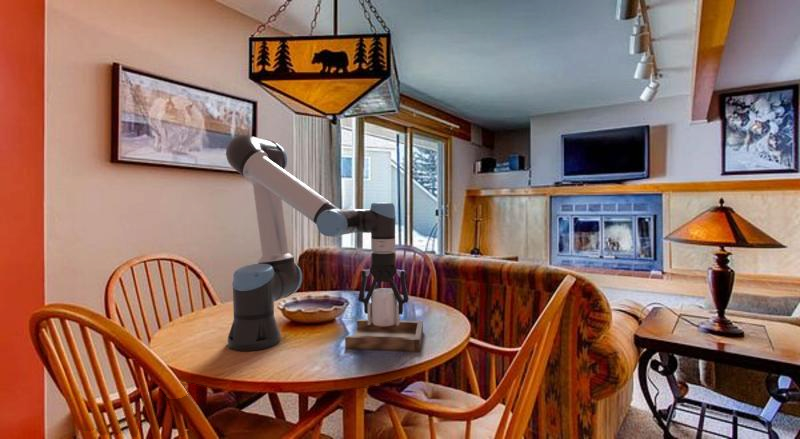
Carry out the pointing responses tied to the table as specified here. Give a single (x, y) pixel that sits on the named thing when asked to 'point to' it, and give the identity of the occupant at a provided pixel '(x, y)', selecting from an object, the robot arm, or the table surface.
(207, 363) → the table surface
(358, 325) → the tray
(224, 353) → the table surface
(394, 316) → the mug
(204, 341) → the table surface
